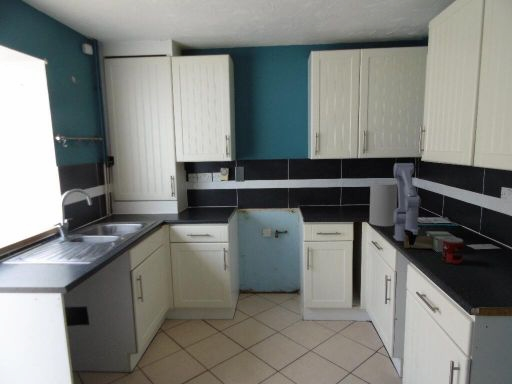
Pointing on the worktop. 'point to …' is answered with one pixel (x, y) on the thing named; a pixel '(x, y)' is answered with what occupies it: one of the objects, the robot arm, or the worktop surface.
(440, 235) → the grey block
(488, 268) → the worktop surface
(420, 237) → the brown-tipped cream rod
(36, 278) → the worktop surface
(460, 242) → the canned food
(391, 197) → the cylinder
